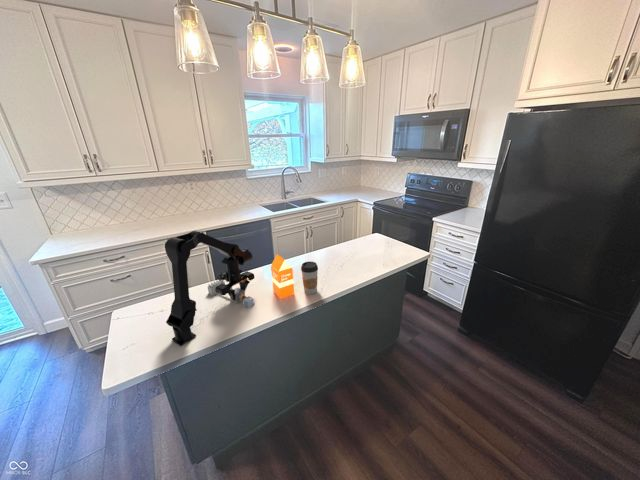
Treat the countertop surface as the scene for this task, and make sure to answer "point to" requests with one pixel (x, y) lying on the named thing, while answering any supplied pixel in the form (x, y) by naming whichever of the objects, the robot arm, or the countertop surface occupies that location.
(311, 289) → the coffee cup
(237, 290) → the sleeve
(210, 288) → the cord rig
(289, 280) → the orange juice
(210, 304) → the countertop surface
